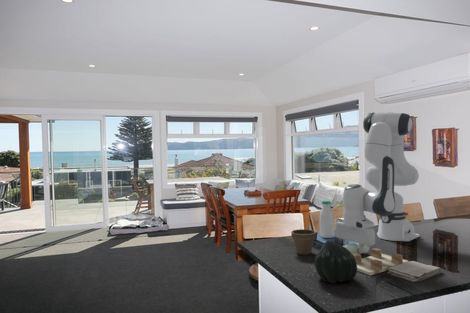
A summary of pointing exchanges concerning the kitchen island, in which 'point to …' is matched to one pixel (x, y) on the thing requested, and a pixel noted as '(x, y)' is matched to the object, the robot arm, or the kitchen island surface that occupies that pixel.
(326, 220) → the milk bottle
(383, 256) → the board
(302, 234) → the flower pot
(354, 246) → the ceramic bottle
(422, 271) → the washcloth
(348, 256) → the squash
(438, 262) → the kitchen island surface
